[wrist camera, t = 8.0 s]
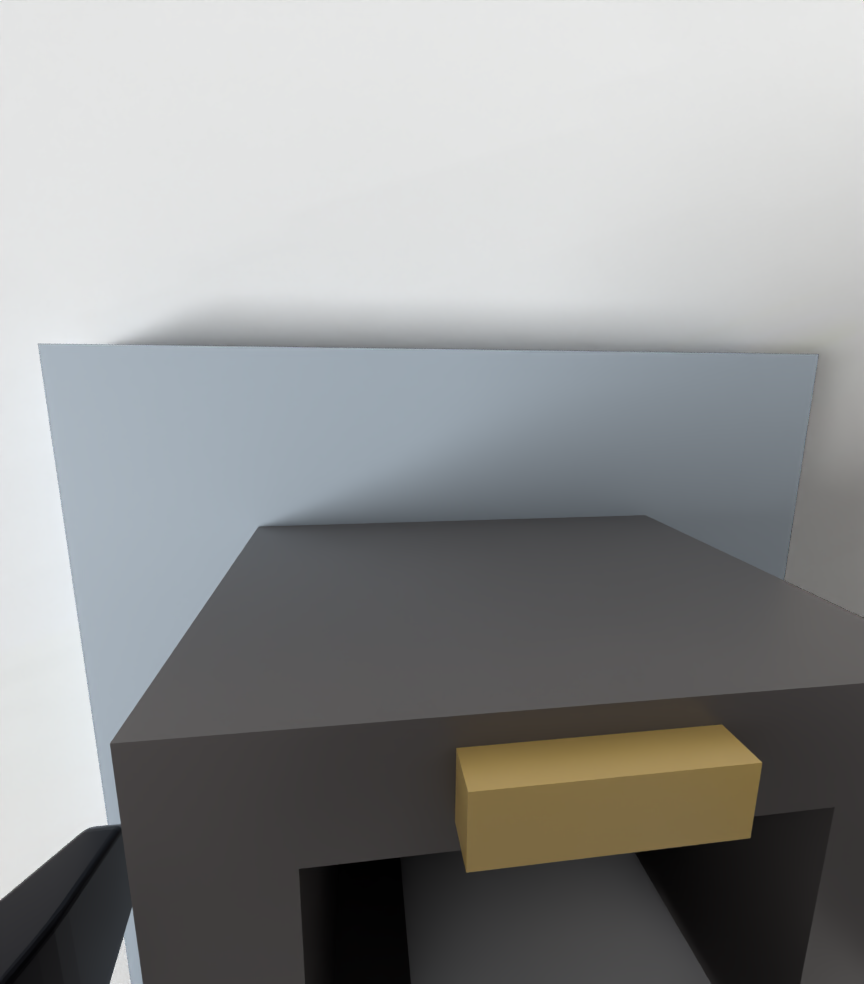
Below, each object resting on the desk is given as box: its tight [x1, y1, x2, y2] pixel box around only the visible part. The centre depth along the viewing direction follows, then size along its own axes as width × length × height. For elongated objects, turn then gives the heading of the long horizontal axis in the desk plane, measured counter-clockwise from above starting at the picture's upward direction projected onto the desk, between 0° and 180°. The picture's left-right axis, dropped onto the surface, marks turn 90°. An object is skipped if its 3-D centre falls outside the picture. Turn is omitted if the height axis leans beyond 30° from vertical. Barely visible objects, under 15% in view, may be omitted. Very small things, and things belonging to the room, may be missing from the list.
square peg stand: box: [38, 344, 819, 984], centre depth 7 cm, size 12×12×8 cm
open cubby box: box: [110, 515, 864, 984], centre depth 7 cm, size 6×6×5 cm
